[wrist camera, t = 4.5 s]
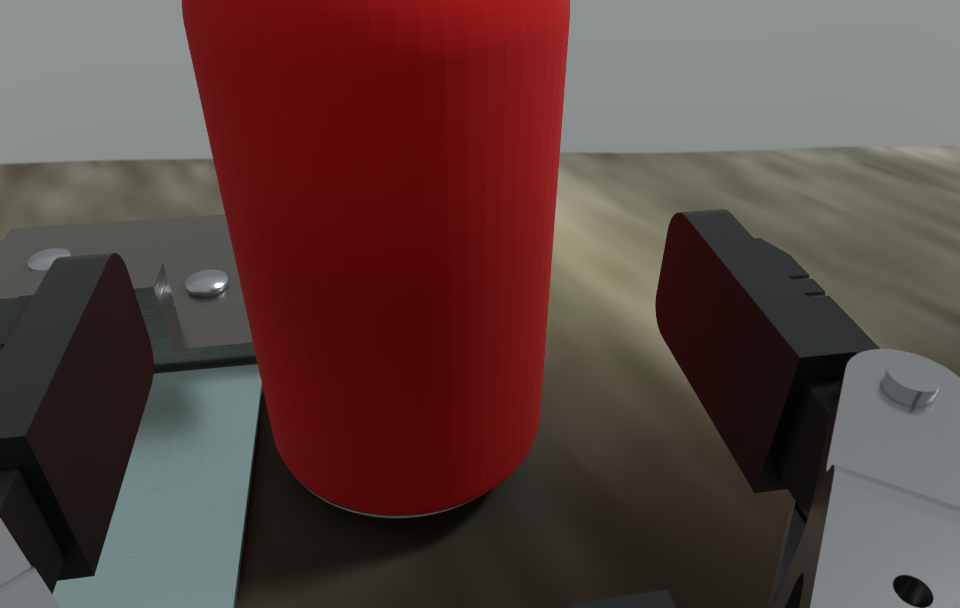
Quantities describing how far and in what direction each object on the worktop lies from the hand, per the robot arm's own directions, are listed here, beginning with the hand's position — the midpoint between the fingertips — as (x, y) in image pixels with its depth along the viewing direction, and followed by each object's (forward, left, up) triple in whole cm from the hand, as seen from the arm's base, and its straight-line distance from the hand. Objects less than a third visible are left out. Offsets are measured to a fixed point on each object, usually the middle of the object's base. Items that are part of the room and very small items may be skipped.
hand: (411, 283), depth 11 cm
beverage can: (0, -4, -7) cm, 8 cm away
